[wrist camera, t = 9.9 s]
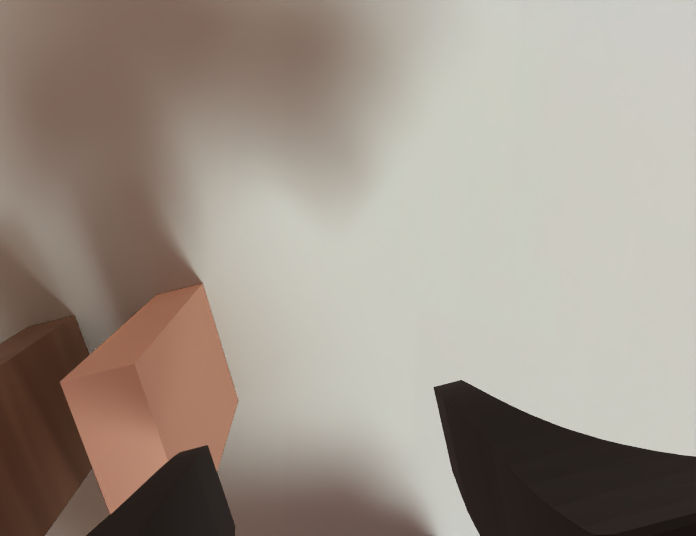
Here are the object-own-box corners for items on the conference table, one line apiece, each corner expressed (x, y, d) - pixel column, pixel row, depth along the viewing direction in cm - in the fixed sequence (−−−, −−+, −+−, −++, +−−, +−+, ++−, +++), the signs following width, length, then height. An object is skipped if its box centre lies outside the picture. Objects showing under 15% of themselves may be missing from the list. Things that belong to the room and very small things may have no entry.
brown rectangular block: (74, 315, 20) (-73, 415, 13) (118, 431, 21) (6, 589, 14) (28, 326, 20) (-149, 434, 13) (73, 442, 21) (-63, 608, 14)
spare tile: (202, 283, 20) (134, 364, 13) (238, 400, 22) (195, 541, 14) (156, 294, 20) (59, 382, 13) (194, 411, 22) (126, 558, 14)
